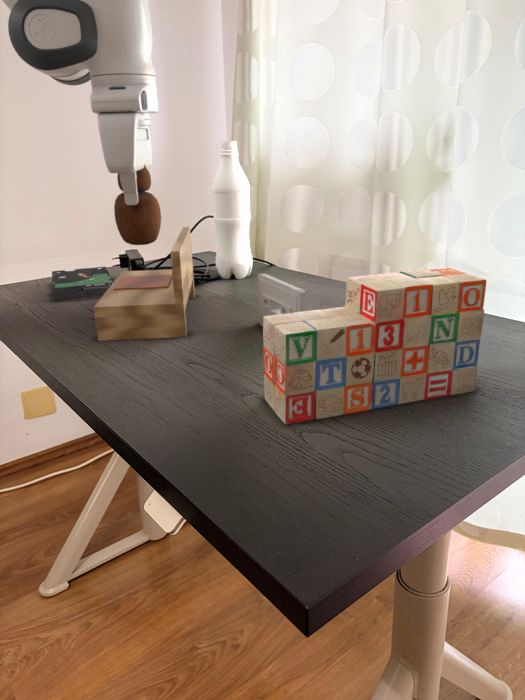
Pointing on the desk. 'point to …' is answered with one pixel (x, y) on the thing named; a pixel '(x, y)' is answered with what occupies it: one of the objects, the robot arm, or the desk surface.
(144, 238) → the wooden figurine
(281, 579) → the desk surface
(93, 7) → the robot arm
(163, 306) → the wooden bookend
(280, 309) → the cassette
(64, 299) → the disk drive
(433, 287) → the stack of blocks
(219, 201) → the water bottle
